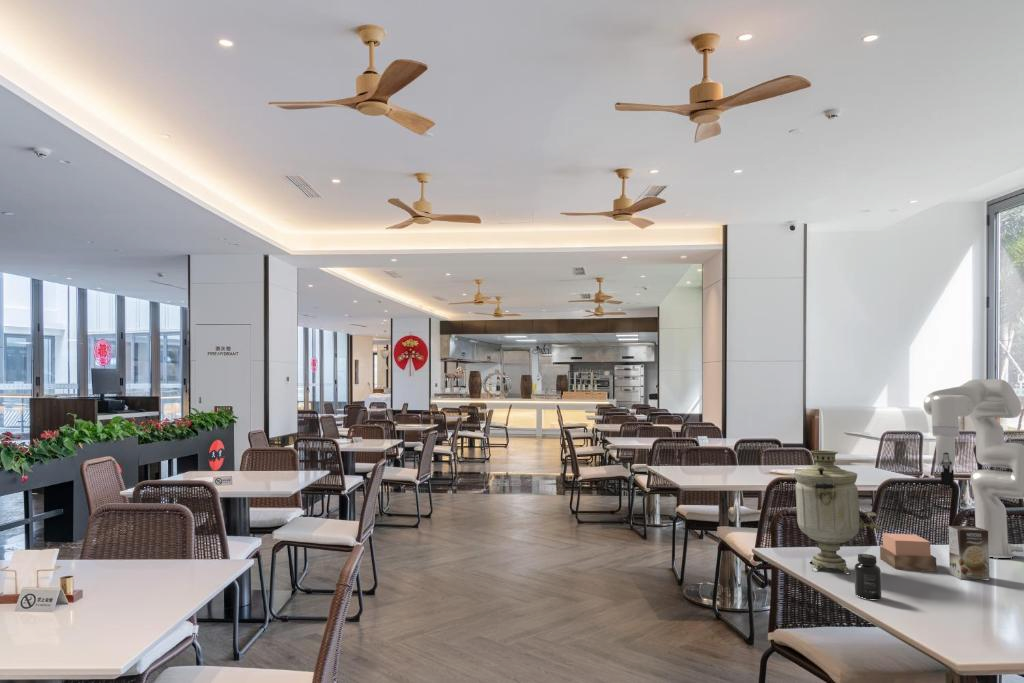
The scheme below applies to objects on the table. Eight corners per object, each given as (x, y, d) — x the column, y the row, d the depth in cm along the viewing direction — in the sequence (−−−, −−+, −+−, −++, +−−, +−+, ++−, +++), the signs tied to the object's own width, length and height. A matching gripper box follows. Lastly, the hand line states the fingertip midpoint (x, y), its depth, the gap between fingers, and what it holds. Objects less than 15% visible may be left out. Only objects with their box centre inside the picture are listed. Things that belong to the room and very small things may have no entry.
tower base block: (919, 562, 229) (919, 548, 229) (936, 572, 216) (936, 557, 216) (880, 560, 231) (879, 546, 232) (895, 570, 218) (894, 555, 219)
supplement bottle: (886, 598, 187) (884, 556, 188) (873, 602, 184) (872, 560, 184) (863, 591, 193) (861, 551, 194) (850, 595, 189) (849, 554, 190)
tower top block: (916, 548, 229) (915, 534, 229) (930, 556, 218) (930, 542, 218) (883, 547, 231) (882, 533, 231) (895, 555, 220) (895, 540, 220)
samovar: (868, 588, 196) (865, 458, 199) (782, 571, 214) (779, 452, 217) (891, 569, 218) (887, 452, 221) (811, 555, 236) (808, 446, 239)
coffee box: (960, 579, 207) (958, 529, 208) (949, 573, 213) (947, 525, 214) (990, 580, 206) (988, 530, 207) (978, 575, 212) (976, 526, 213)
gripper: (933, 430, 225) (935, 478, 224) (931, 432, 211) (933, 484, 210) (959, 431, 221) (961, 480, 219) (958, 433, 207) (960, 487, 205)
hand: (947, 482), depth 215 cm, fingers open, 9 cm apart
